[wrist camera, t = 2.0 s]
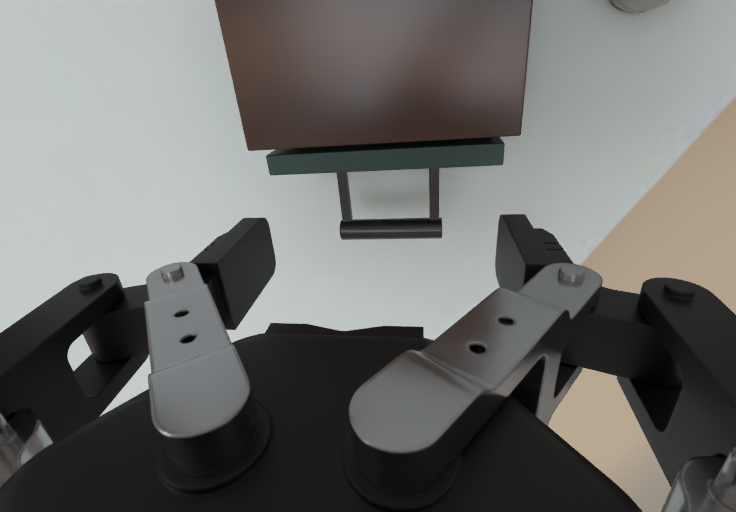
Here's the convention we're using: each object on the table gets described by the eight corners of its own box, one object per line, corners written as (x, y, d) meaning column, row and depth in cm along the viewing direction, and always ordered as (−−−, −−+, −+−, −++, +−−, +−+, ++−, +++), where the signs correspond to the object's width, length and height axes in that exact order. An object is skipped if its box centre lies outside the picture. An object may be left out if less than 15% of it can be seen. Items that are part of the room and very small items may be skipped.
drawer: (481, 208, 31) (496, 258, 24) (318, 213, 33) (286, 259, 26) (497, -109, 22) (528, -182, 15) (274, -74, 25) (208, -124, 17)
